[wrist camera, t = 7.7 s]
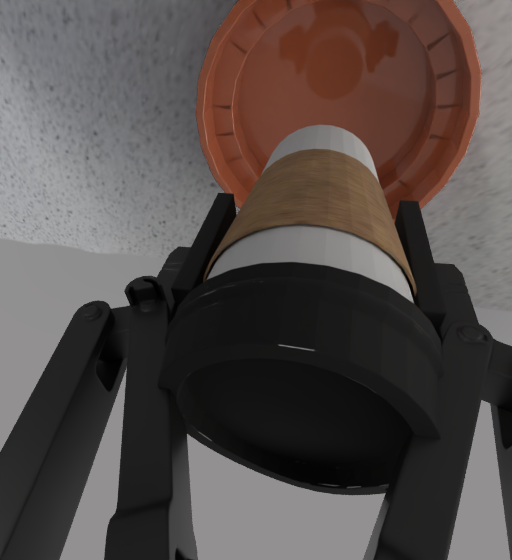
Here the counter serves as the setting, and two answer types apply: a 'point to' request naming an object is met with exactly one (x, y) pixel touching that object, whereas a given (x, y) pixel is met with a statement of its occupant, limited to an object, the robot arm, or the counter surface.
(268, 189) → the coffee cup
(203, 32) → the counter surface
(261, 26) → the bowl
